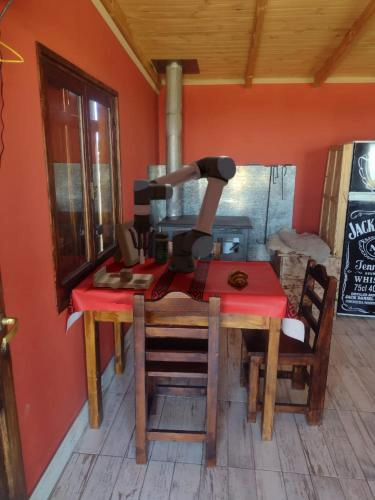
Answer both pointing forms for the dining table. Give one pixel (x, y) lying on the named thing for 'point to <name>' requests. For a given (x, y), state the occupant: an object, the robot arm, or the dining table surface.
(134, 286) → the trap board
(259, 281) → the dining table surface
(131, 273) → the walnut block
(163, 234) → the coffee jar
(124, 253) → the photo frame
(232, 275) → the croissant
